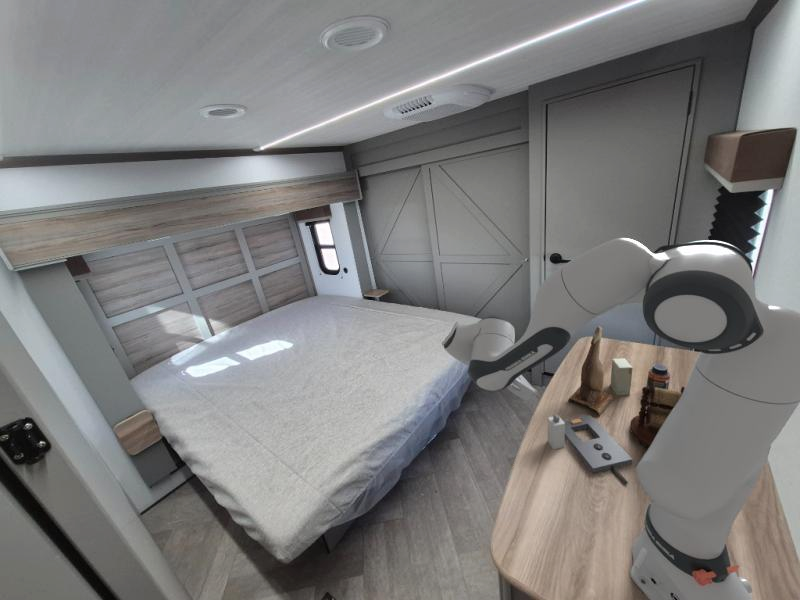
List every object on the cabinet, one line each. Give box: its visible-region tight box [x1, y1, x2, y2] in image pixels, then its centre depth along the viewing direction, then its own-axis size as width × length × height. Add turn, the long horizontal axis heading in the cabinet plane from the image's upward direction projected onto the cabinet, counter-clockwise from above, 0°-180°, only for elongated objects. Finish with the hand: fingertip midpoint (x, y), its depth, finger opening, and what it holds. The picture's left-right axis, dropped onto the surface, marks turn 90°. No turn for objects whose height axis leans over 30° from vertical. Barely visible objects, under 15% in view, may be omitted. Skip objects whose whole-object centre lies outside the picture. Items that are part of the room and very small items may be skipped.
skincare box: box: [609, 357, 634, 396], centre depth 114 cm, size 6×4×12 cm
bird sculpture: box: [567, 325, 613, 417], centre depth 108 cm, size 11×12×32 cm
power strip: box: [563, 414, 633, 485], centre depth 95 cm, size 23×12×3 cm, turn 6°
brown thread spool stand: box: [629, 382, 685, 448], centre depth 92 cm, size 15×15×20 cm
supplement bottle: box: [645, 363, 671, 395], centre depth 110 cm, size 6×6×11 cm
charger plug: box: [547, 414, 566, 450], centre depth 98 cm, size 4×4×12 cm
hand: (526, 383), depth 90 cm, fingers open, 8 cm apart
